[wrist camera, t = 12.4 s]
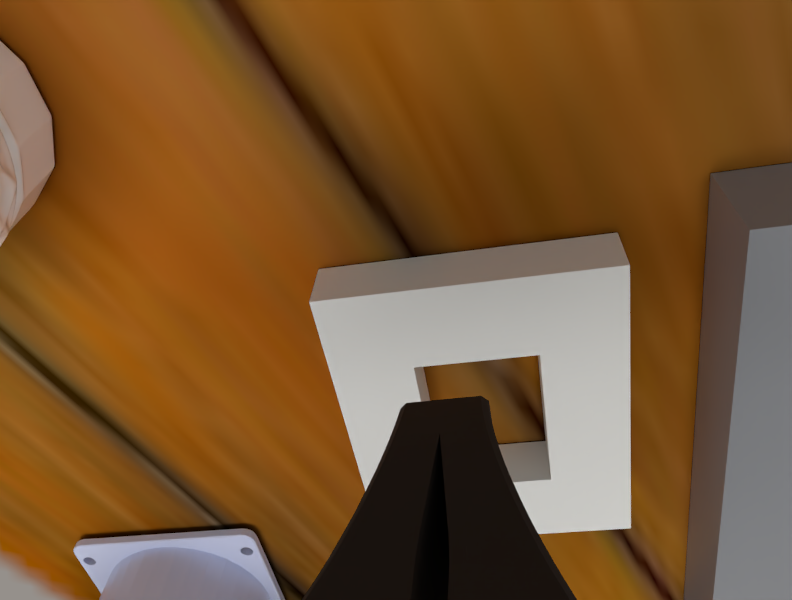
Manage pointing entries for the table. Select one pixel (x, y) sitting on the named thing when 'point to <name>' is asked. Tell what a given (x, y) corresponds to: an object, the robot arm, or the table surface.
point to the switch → (744, 394)
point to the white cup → (21, 141)
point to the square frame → (497, 339)
